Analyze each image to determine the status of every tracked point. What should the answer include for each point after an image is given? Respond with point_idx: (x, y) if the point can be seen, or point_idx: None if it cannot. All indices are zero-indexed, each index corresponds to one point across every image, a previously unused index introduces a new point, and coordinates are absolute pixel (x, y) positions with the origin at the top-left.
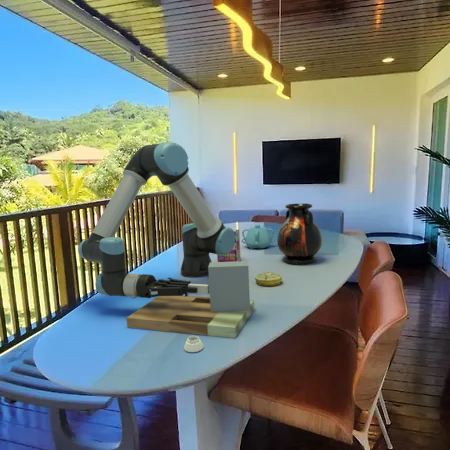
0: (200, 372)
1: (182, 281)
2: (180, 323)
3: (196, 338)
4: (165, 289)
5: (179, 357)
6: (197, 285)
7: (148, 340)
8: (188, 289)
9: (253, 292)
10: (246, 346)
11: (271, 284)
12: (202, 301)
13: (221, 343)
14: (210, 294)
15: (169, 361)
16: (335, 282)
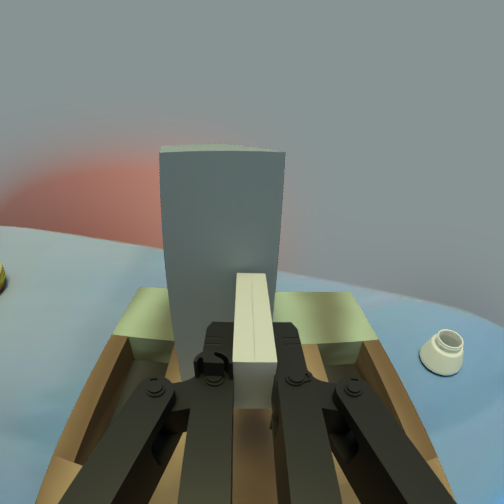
0: (473, 318)
1: (137, 448)
2: (416, 415)
3: (437, 342)
4: (438, 491)
5: (479, 361)
6: (266, 309)
7: (491, 476)
8: (303, 367)
9: (17, 315)
10: (364, 295)
11: (3, 282)
12: (91, 439)
13: (383, 328)
14: (272, 300)
15: (498, 366)
16: (43, 233)
